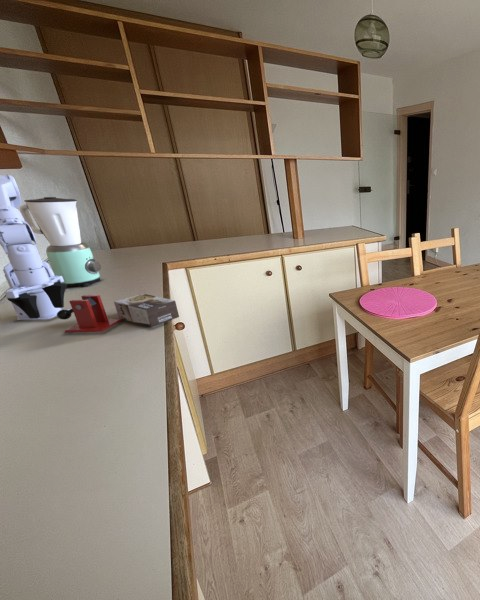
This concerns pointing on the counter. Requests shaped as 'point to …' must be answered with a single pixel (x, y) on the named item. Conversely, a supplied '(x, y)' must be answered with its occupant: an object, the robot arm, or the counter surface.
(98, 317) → the lever bracket
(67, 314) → the lever
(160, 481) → the counter surface
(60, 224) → the mint green blender
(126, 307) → the coffee box
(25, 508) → the counter surface
